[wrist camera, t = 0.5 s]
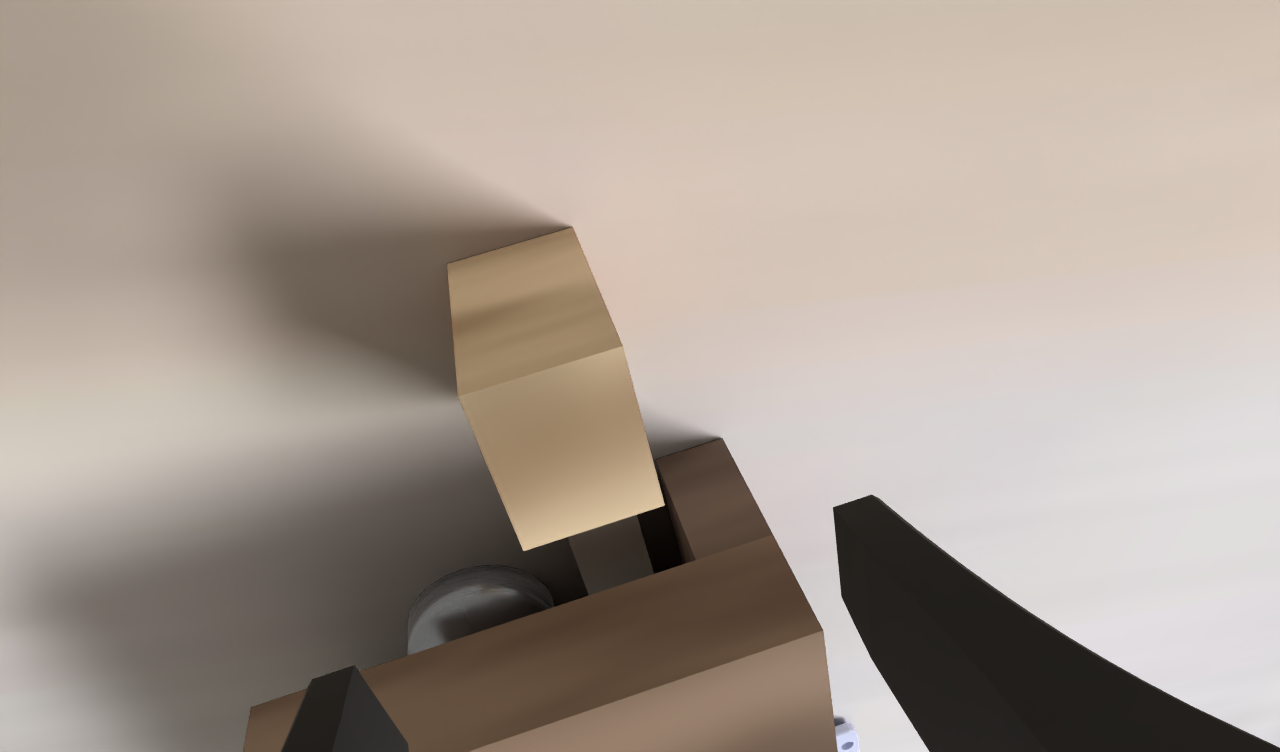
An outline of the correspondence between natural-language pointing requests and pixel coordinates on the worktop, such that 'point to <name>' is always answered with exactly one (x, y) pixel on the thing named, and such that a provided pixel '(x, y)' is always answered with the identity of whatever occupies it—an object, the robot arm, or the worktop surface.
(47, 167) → the worktop surface
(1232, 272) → the worktop surface
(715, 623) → the cabinet
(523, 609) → the disc
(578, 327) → the wooden building block
